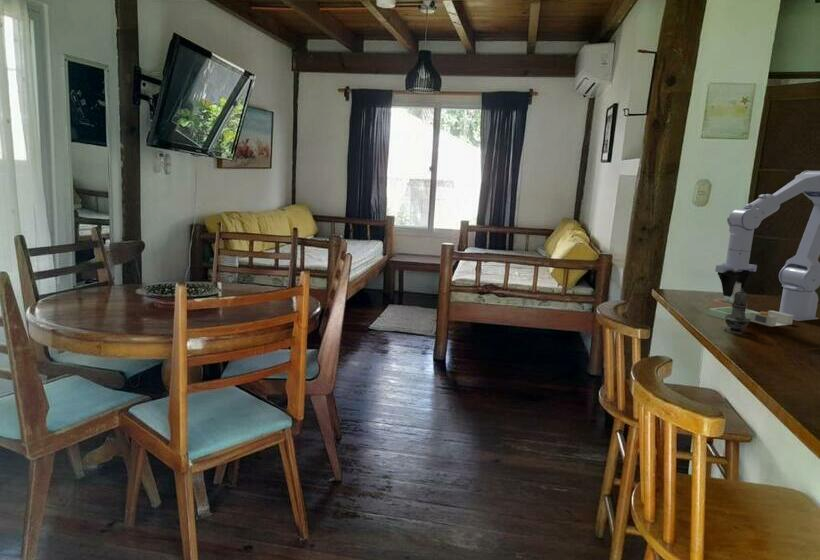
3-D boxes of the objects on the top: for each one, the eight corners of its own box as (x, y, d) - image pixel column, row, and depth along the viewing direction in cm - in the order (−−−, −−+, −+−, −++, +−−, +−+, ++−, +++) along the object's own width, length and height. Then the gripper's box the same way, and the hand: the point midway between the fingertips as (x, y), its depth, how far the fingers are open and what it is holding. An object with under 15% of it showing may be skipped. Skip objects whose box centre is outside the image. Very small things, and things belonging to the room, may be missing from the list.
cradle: (771, 320, 156) (773, 308, 155) (791, 325, 150) (793, 313, 150) (749, 322, 152) (751, 310, 152) (769, 327, 147) (771, 315, 146)
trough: (734, 313, 163) (735, 306, 162) (756, 319, 156) (757, 311, 156) (706, 315, 158) (707, 308, 158) (727, 321, 152) (728, 314, 152)
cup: (725, 308, 170) (727, 299, 170) (745, 313, 164) (747, 303, 163) (710, 309, 168) (712, 300, 167) (730, 314, 161) (731, 304, 161)
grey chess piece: (752, 335, 138) (759, 291, 136) (727, 333, 139) (734, 289, 137) (742, 329, 144) (749, 286, 141) (719, 328, 145) (725, 285, 142)
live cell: (741, 303, 155) (744, 282, 154) (732, 303, 154) (736, 282, 152) (730, 300, 158) (733, 279, 157) (721, 300, 157) (725, 280, 156)
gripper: (743, 248, 159) (736, 291, 162) (709, 248, 154) (702, 293, 157) (766, 251, 153) (758, 296, 156) (731, 251, 148) (724, 298, 150)
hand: (732, 295), depth 156 cm, fingers closed on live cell, 4 cm apart
